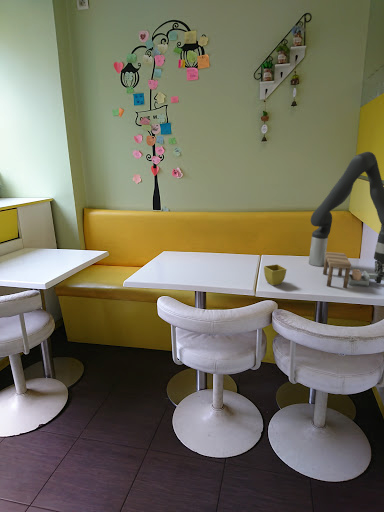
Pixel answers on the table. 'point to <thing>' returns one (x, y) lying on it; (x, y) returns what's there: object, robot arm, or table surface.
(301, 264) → the table surface
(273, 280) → the flower pot
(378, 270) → the robot arm
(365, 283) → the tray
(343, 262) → the slatted wooden stool
